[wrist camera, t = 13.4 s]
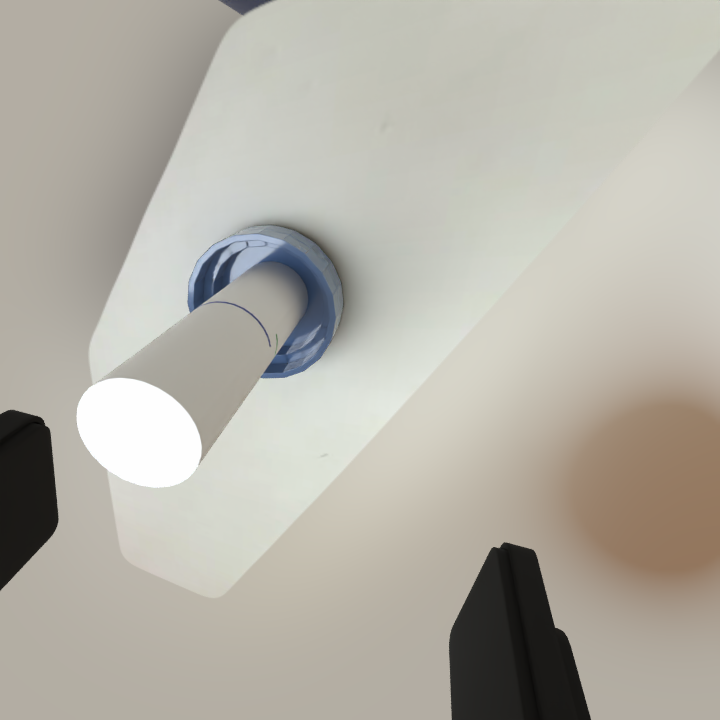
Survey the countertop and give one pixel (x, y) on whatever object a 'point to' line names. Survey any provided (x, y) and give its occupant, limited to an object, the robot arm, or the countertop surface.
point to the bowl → (299, 255)
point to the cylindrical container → (190, 379)
